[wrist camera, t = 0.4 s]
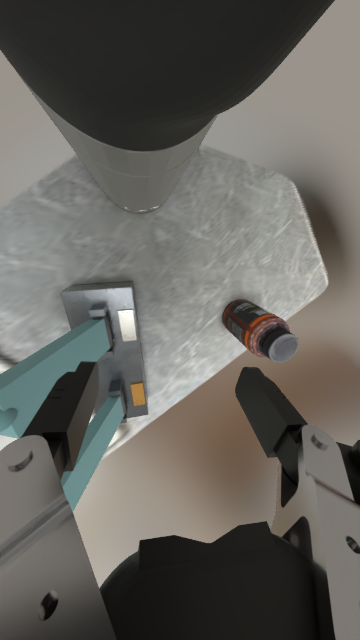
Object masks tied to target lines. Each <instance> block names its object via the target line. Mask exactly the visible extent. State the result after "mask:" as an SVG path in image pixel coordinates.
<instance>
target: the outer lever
mask: <svg viewBox="0 0 360 640" xmlns="http://www.w3.org/2000/svg"><path fill="white" fill-rule="evenodd" d="M126 412H127V411H126V406H125V400H124V395H123V391H121V395H116V396H110V397H109V396H108V398H107V399H106V401H105V402H104V404H103V405H102V406H101V408H100V409H99V411H98V412H97V414H96V415H95V416H94V418H93V419H92V421H91V422H90V424H89V425H88V427H87V430H86V433H85V436H84V439H83V442H82V445H81V448H80V452H79V455H78V458H77V461H76V464H75V467H74V470H73V471H67V472H64V473H63V476H62V479H61V484H62V487H63V490H64V493H65V496H66V499H67V501H68V502H69V504H70V507H71V509H72V512H73V511H74V509H75V507H76V505H77V503H78V501H79V499H80V498H81V496H82V494H83V492H84V490H85V488H86V486H87V484H88V483H89V481H90V479H91V477H92V475H93V473H94V471H95V469H96V467H97V466H98V464H99V462H100V460H101V458H102V456H103V454H104V453H105V451H106V449H107V447H108V445H109V443H110V441H111V439H112V438H113V436H114V434H115V432H116V430H117V428H118V426H119V424H120V423H121V421H122V419H123V417H124V415H125V414H126Z"/></svg>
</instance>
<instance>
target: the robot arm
mask: <svg viewBox="0 0 360 640" xmlns="http://www.w3.org/2000/svg"><path fill="white" fill-rule="evenodd" d="M333 2H334V0H0V50H1V51H2V53H3V54H4V55H5V57H6V58H7V59H8V61H9V62H10V63H11V65H12V66H13V67H14V68H15V70H16V71H17V73H18V74H19V76H20V77H21V79H22V80H23V81H24V83H25V84H26V85H27V87H28V88H29V90H30V91H31V92H32V94H33V95H34V96H35V98H36V99H37V100H38V102H39V103H40V105H41V106H42V107H43V109H44V110H45V111H46V113H47V114H48V115H49V117H50V118H51V120H52V121H53V122H54V124H55V125H56V126H57V127H58V129H59V130H60V132H61V133H62V134H63V136H64V137H65V139H66V140H67V141H68V143H69V144H70V145H71V147H72V148H73V150H74V151H75V152H76V154H77V155H78V156H79V158H80V159H81V161H82V162H83V163H84V165H85V166H86V167H87V169H88V170H89V172H90V173H91V174H92V176H93V177H94V178H95V180H96V181H97V183H98V184H99V186H100V187H101V188H102V190H103V191H104V192H105V194H106V195H107V196H108V197H109V199H110V200H112V201H113V202H114V203H115V204H116V205H117V206H119V207H121V208H122V209H124V210H127V211H130V212H133V213H147V212H150V211H153V210H155V209H157V208H158V207H160V206H161V205H162V204H163V203H164V202H165V201H166V199H167V198H168V196H169V195H170V193H171V192H172V190H173V188H174V187H175V185H176V184H177V182H178V180H179V179H180V177H181V175H182V174H183V172H184V170H185V169H186V167H187V165H188V164H189V162H190V161H191V159H192V157H193V156H194V154H195V152H196V151H197V149H198V147H199V146H200V144H201V142H202V141H203V139H204V137H205V135H206V133H207V132H208V130H209V129H210V127H211V125H212V124H213V122H214V120H215V119H216V117H217V115H218V114H220V113H222V112H224V111H226V110H228V109H230V108H232V107H233V106H235V105H237V104H238V103H239V102H241V101H242V100H244V99H245V98H246V97H248V96H249V95H250V94H252V93H253V92H254V91H255V89H257V88H258V87H259V86H260V85H261V84H262V83H263V82H264V81H265V80H266V79H267V78H268V77H269V76H270V75H271V74H272V73H273V72H274V70H275V69H276V68H277V67H278V66H279V65H280V64H281V63H282V62H283V60H284V59H285V58H286V57H287V56H288V55H289V53H290V52H291V51H292V50H293V49H294V47H295V46H296V45H297V44H298V43H299V41H301V39H302V38H303V37H304V36H305V35H306V33H307V32H308V31H309V30H310V29H311V28H312V26H313V25H314V24H315V23H316V22H317V21H318V19H319V18H320V17H321V16H322V15H323V13H324V12H325V11H326V10H327V9H328V8H329V6H330V5H331V4H332V3H333ZM98 391H99V368H98V362H91V361H81V362H80V363H79V365H78V367H77V369H76V371H75V372H66V373H65V374H64V375H63V376H61V377H60V378H59V379H58V380H57V381H56V383H55V384H54V386H53V387H52V389H51V391H50V392H49V394H48V395H47V397H46V399H45V400H44V402H43V403H42V405H41V406H40V408H39V410H38V411H37V413H36V414H35V416H34V417H33V419H32V421H31V422H30V424H29V425H28V427H27V429H26V430H25V432H24V433H23V435H22V436H21V437H20V438H19V439H17V440H15V441H13V442H12V443H10V444H8V445H7V446H6V447H4V448H3V449H2V450H1V451H0V640H360V440H358V441H357V442H356V443H355V444H354V446H353V447H352V446H348V445H345V444H341V443H338V442H335V441H334V440H333V438H332V437H331V436H330V435H328V434H327V433H326V432H324V431H323V430H322V429H320V428H318V427H315V426H312V425H308V424H307V422H306V421H305V420H304V419H303V418H302V416H301V415H300V414H299V413H298V411H297V410H296V409H295V408H294V406H293V405H292V404H291V403H290V401H289V400H288V399H286V397H285V395H284V394H283V393H282V392H281V390H280V389H279V388H278V387H277V385H276V384H275V383H274V382H273V381H271V380H270V379H269V378H267V377H265V376H264V374H263V373H262V372H261V371H260V369H259V368H256V367H244V368H243V369H242V371H241V374H240V376H239V379H238V382H237V384H236V388H235V393H236V397H237V399H238V401H239V403H240V405H241V407H242V409H243V410H244V412H245V414H246V416H247V418H248V420H249V422H250V424H251V426H252V428H253V430H254V432H255V434H256V436H257V438H258V440H259V442H260V444H261V446H262V448H263V450H264V451H265V453H266V455H267V457H268V458H270V457H278V459H279V461H280V462H279V464H278V469H277V494H276V512H275V516H274V519H273V522H272V525H271V530H270V528H269V526H268V523H267V521H265V522H259V523H252V524H246V525H239V526H237V527H236V528H234V529H233V530H231V531H230V532H228V533H226V534H225V535H223V536H222V537H220V538H219V539H217V540H216V541H214V542H213V543H204V542H199V541H196V540H192V539H188V538H183V537H179V536H176V535H172V536H166V537H159V538H152V539H146V540H140V543H139V549H138V551H137V552H136V553H134V554H132V555H131V556H129V557H128V558H127V559H125V560H124V561H123V562H122V563H121V564H120V565H119V566H118V567H117V568H116V569H115V570H114V571H113V572H112V573H111V574H110V575H109V577H108V578H107V579H106V580H105V581H104V583H103V584H102V586H101V587H100V588H99V587H98V584H97V581H96V578H95V576H94V573H93V570H92V567H91V564H90V561H89V558H88V555H87V552H86V550H85V547H84V544H83V541H82V538H81V535H80V532H79V529H78V526H77V524H76V521H75V518H74V515H73V512H72V509H71V507H70V504H69V502H68V501H67V499H66V496H65V493H64V490H63V487H62V484H61V479H62V476H63V473H64V472H67V471H73V470H74V467H75V464H76V461H77V458H78V455H79V452H80V448H81V445H82V442H83V439H84V436H85V433H86V430H87V427H88V424H89V421H90V418H91V415H92V412H93V409H94V406H95V403H96V399H97V396H98Z"/></svg>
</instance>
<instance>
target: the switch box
mask: <svg viewBox="0 0 360 640" xmlns="http://www.w3.org/2000/svg"><path fill="white" fill-rule="evenodd" d="M60 293H61V296H62V299H63V303H64V306H65V310H66V313H67V317H68V320H69V323H70V327H71V330H73V329H75V328H76V327H78V326H80V325H81V324H83V323H84V322H86V321H88V320H89V319H91V318H92V317H100V316H105V315H108V320H109V325H110V330H111V335H112V340H113V346H112V347H111V348H110V349H109V350H108V351H107V352H106V353H105V354H104V355H103V356H102V357H101V358H100V359H99V360H98V361H97V362H98V368H99V391H98V396H97V399H96V403H95V406H94V409H95V412H96V414H97V412H98V411H99V409H100V408H101V406H102V405H103V404H104V402H105V401H106V399H107V398H108V396H109V397H110V396H116V395H121V391H123V395H124V400H125V406H126V411H127V412H126V414H125V415H124V417H123V419H122V421H121V423H125V422H127V418H132V417H137V416H143V415H148V397H147V389H146V381H145V373H144V366H143V358H142V350H141V342H140V335H139V327H138V319H137V311H136V304H135V296H134V288H133V281H127V282H112V283H96V284H80V285H71V286H70V287H68V288H66V289H65V290H63V291H62V292H60Z"/></svg>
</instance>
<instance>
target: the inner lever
mask: <svg viewBox="0 0 360 640" xmlns="http://www.w3.org/2000/svg"><path fill="white" fill-rule="evenodd" d="M112 346H113V340H112V335H111V330H110V325H109V320H108V315H105V316H100V317H92V318H91V319H89V320H88V321H86V322H84V323H83V324H81V325H80V326H78V327H76V328H75V329H73V330H71V331H70V332H68V333H67V334H65V335H63V336H62V337H60V338H58V339H57V340H55V341H54V342H52V343H50V344H49V345H47V346H45V347H44V348H42V349H41V350H39V351H37V352H36V353H34V354H32V355H31V356H29V357H28V358H26V359H24V360H23V361H21V362H20V363H18V364H16V365H15V366H13V367H11V368H10V369H8V370H7V371H5V372H3V373H2V374H0V435H4V436H8V437H13V438H18V439H19V438H20V437H21V436H22V435H23V433H24V432H25V430H26V429H27V427H28V425H29V424H30V422H31V421H32V419H33V417H34V416H35V414H36V413H37V411H38V410H39V408H40V406H41V405H42V403H43V402H44V400H45V399H46V397H47V395H48V394H49V392H50V391H51V389H52V387H53V386H54V384H55V383H56V381H57V380H58V379H59V378H60V377H61V376H63V375H64V374H65V373H66V372H75V371H76V369H77V367H78V365H79V363H80V362H81V361H91V362H97V361H98V360H99V359H100V358H101V357H102V356H103V355H104V354H105V353H106V352H107V351H108V350H109V349H110V348H111V347H112Z"/></svg>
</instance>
